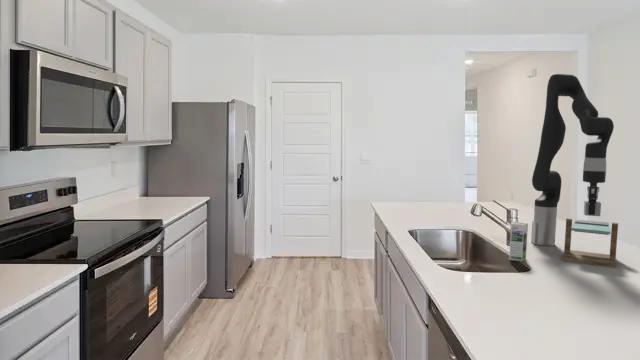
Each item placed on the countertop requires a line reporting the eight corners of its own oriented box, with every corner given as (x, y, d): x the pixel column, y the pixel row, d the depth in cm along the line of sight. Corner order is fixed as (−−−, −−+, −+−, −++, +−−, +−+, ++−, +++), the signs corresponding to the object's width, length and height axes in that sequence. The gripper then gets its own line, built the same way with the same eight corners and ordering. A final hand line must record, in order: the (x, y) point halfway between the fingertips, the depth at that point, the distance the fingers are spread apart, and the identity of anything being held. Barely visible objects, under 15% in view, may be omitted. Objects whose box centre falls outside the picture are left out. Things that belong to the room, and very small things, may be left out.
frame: (565, 251, 201) (567, 217, 199) (615, 257, 191) (617, 221, 190) (561, 260, 184) (564, 223, 183) (616, 267, 175) (618, 229, 174)
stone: (585, 215, 181) (586, 202, 180) (583, 213, 185) (584, 200, 185) (600, 216, 179) (601, 203, 178) (598, 214, 183) (599, 201, 183)
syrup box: (508, 260, 183) (510, 223, 182) (510, 257, 189) (512, 221, 187) (524, 262, 181) (527, 224, 179) (526, 258, 186) (528, 222, 185)
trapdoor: (573, 228, 200) (574, 219, 200) (609, 232, 194) (610, 222, 193) (570, 236, 183) (571, 226, 183) (609, 241, 176) (610, 230, 176)
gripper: (606, 171, 173) (603, 217, 174) (605, 169, 185) (603, 212, 186) (582, 170, 176) (579, 215, 178) (584, 168, 189) (581, 210, 190)
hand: (591, 213), depth 182 cm, fingers closed on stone, 5 cm apart
